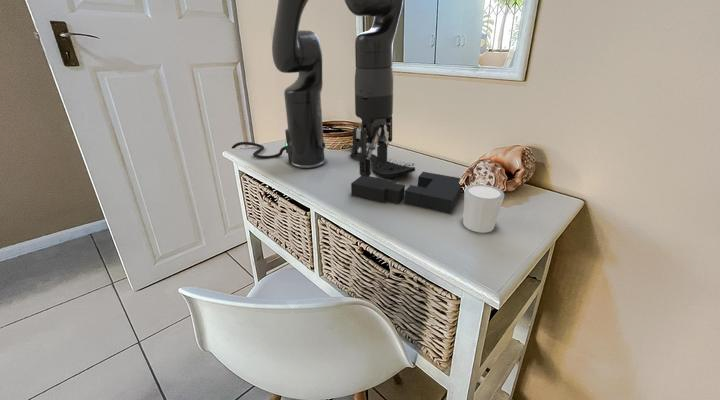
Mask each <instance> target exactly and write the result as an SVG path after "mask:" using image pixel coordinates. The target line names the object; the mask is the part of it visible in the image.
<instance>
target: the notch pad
mask: <svg viewBox="0 0 720 400" xmlns="http://www.w3.org/2000/svg"><path fill="white" fill-rule="evenodd" d="M417 176H418V177H417V185H413V184H410V185H409V186H407V188H405V194H404V198H403V200H404V202H403V203H404V204H406V205H410V206H415V207H420V208H424V209H429V210H433V211H437V212H442V213H446V214H452V212H453V210H454V209H455V207H456V205H457V203H458V202H459V200H460V198H461V196H462V195H463V194H464V191H463V190H462V192H461V187H462V185H460V184H459V183H458V182H459V180H460V178H461V177H457V176H450V175H446V174H439V173H434V172H428V171H422V172H421V173H420V174H419V175H417Z"/></svg>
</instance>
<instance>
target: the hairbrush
mask: <svg viewBox="0 0 720 400" xmlns="http://www.w3.org/2000/svg"><path fill="white" fill-rule="evenodd" d="M350 156H351V157H353V151H351V153H350ZM370 159H371V169H372V171H373V172H374V173H375V175H376V176H378V177H379V178H393V177H400V176H403V175H406V174H407V175H408V174H410V173H414V172H415V171H416V167H415V165H414V163H411V162H410V163H409V162H407V163H406V164H405V161H402V162H401V161H400V160H398V162H397V160H394V159H389V160H387V162H386V163H385V164H384V163H378V162H377V154H374V153H372V154H371V157H370ZM391 160H393V161H391ZM396 162H397V163H396Z"/></svg>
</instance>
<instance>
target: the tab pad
mask: <svg viewBox="0 0 720 400" xmlns="http://www.w3.org/2000/svg"><path fill="white" fill-rule="evenodd" d="M405 190H406V184H402V183H396V182H395V181H394V180H391V179H385V178H382V177H375V176H371V175H370V176H369V177H365V176H361V175H360V176H359V177H358V178H356V179H355V180H354V181H352V182H351V183H350V191H351V192H350V195H351V196H352V197H357V198H361V199H366V200H370V201H373V202H379V203H383V204H384V203H385V202H388V203H393V204H397V205H398V204H400V203H401V201H403V200H404V198H405Z"/></svg>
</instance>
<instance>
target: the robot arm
mask: <svg viewBox="0 0 720 400" xmlns="http://www.w3.org/2000/svg"><path fill="white" fill-rule="evenodd" d="M309 1H310V0H277V6H276V7H277V8H276V14H275V20H274V27H273V33H272V41H271V42H272V43H271V54H272V60H273V64H274V66H275V68H276V69H277V70H278V71H279V72H280V73H283V74H295V73H298V76H297V77H296V80H295V81H294V82H293V83H292V84H290V85H289V86H287V87H286V88H285V89H284V92H283V97H284V106H285V113H286V124H287V128H286V129H285V140H286V141H285V143H284V145H285V146H283V147H281V148H280V150H279V152H278V153H276V154H271V155H260V154H259V153H261V152H262V151H263V150H265V147H264V145H262V144H259V143H255V142H251V141H239V142H236V143H235V144H233V145H232V146H231V149H232V150H233V149H236V148H237V147H239V146H253V147H257V148H258V149H256V150H255V151H254V152H253V153H252V156H253V157H254V158H256V159H261V160H268V159H275V158H279V157H281V156H282V155H283V153H284V151H285V153H286V154H287V157H288V158H287V160H288V164H290V165H291V166H293V167H295V168H297V169H298V168H299V169H312V168H313V169H314V168H318V167H321V166H322V165H324V164H325V163H326V158H325V148H326V143H325V141H324V128H323V112H322V90H323V83H324V82H323V50H322V44H321V41H320V38H319V37H318V35H317V34H316V33H315V32H314V31H311V30H302V29H301V30H299V29H300V23H301V19H302V15H303V12H304V10H305V9H306V6H307V4H308V3H309ZM344 3H345V5H346V7H347V9H348V10H349V12H350V13H351V14H353V15H354V16H356V17H373V22H372V25H371V28H370V29H369V30H366V31H363V32H361V33H359V34H358V35H357V36H356V38H355V40H354V57H355V59H354V60H355V72H354V113H355V116H356V117H357V118H359V119H360V120H361V125H360V127H353V129H352V144H353V146H352V152H353V156H352V158H353V159H357V160H359V161H358V162H359V175H360V176H365V177H369V176H371V174H372V162H371V159H370V157H371V154H373V151H374V150H376V156H377V162H378V163H384V164H385V163H386V162H387V161H388V147H389V146H390V143H392V141H393V113H394V112H393V111H394V110H393V109H394V72H393V62H394V61H393V59H394V58H393V57H394V56H393V55H394V54H393V53H394V52H393V51H394V40H395V37H396V34H397V30H398V25H399V21H400V18H401V13H402V10H403V5H404V0H344ZM367 143H369V144H367ZM358 147H359V151H358ZM367 149H368V151H367Z"/></svg>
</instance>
